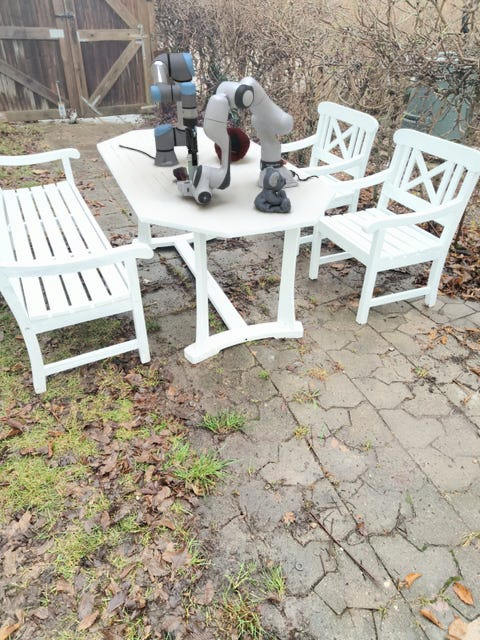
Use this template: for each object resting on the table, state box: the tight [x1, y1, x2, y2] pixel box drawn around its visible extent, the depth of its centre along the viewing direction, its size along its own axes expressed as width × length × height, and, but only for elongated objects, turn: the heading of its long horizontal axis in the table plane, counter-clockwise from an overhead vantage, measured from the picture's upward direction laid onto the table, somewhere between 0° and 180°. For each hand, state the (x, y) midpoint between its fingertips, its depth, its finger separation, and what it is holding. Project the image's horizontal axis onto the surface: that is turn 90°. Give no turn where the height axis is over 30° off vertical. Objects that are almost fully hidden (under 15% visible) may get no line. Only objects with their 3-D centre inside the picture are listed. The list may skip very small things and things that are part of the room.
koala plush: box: [253, 166, 292, 213], centre depth 221 cm, size 17×18×20 cm
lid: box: [186, 154, 200, 162], centre depth 238 cm, size 6×6×2 cm
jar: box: [187, 160, 199, 180], centre depth 243 cm, size 6×6×18 cm
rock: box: [172, 166, 189, 182], centre depth 261 cm, size 12×9×10 cm
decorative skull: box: [213, 126, 251, 166], centre depth 295 cm, size 21×24×25 cm
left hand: (193, 163), depth 239 cm, fingers closed on lid, 6 cm apart
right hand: (193, 180), depth 245 cm, fingers closed on jar, 5 cm apart
